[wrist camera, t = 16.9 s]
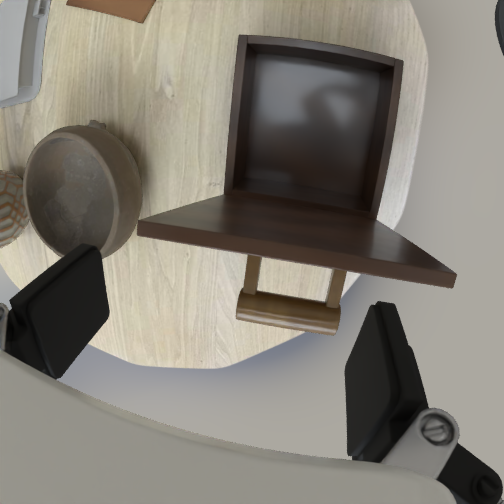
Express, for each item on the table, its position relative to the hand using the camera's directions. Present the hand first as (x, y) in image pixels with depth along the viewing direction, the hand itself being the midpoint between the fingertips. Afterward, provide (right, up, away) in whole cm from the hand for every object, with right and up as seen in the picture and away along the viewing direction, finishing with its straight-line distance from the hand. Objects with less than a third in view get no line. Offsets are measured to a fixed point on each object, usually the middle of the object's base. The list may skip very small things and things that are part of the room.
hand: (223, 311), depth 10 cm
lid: (+4, +4, +12) cm, 14 cm away
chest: (+8, +17, +23) cm, 30 cm away
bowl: (-20, +12, +31) cm, 39 cm away
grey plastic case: (-39, +38, +22) cm, 59 cm away
